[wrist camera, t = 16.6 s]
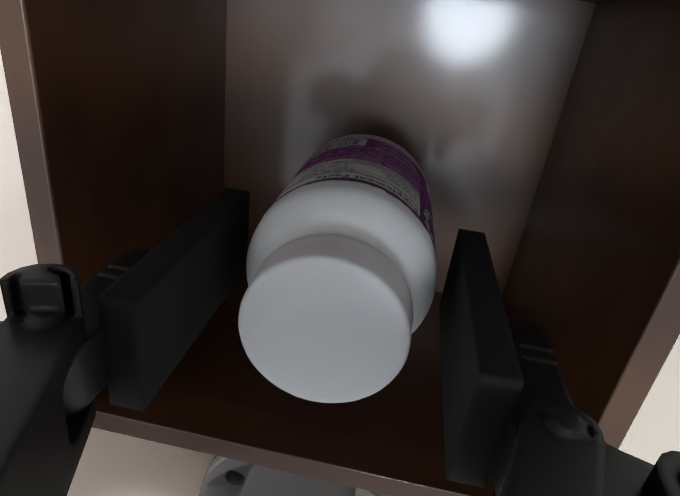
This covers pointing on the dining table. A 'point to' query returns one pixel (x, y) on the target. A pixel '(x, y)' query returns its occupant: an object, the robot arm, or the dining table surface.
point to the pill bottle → (341, 272)
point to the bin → (390, 123)
